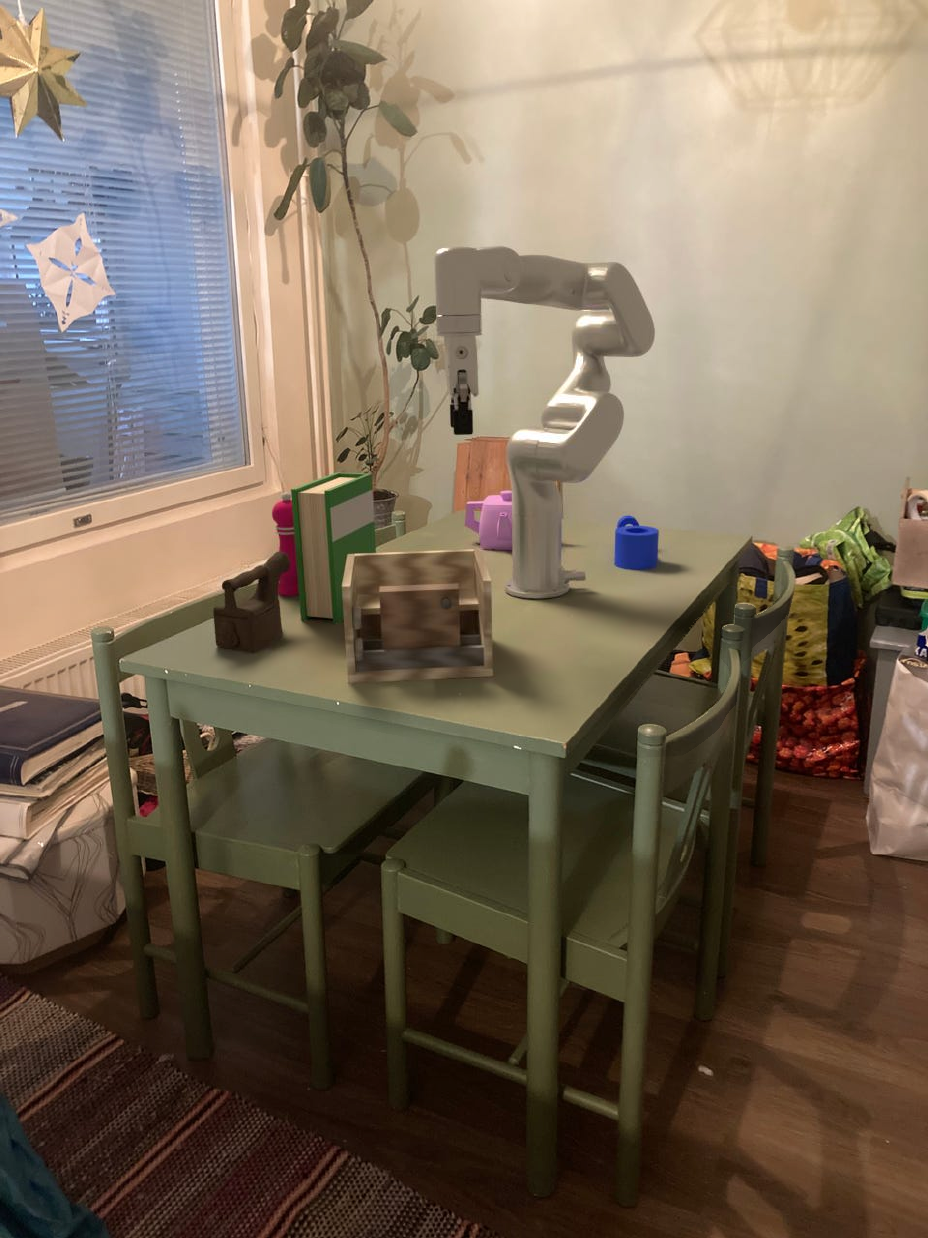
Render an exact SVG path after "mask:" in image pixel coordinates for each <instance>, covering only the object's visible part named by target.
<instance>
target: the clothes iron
mask: <svg viewBox="0 0 928 1238" xmlns="http://www.w3.org/2000/svg"><path fill="white" fill-rule="evenodd" d="M289 568H290V560H289V557H288V556H287V555H286V554H285V553H284V552H279V551H276V552H275V553H274V554H273V555H272V556H271V557H269V558H268V559H267V560H266V561H265V562H264V564H263V565H262V564H261V565H260V564H258V565H256V566H255V567H254V568H252V569H250V570H246V571H244V572H242V573H239V574H238V575H236V576H235V577H233V578H230V579H225V580H224V581H222V583H221V589H222V590H224V606H221V605H219V606H215V607H213V612H212V613H213V614H212V615H213V624H214V625H213V627H214V635H215V636H214V638H215V644H216V646H217V647H218V648H224V649H228V650H229V649H231V650H235V649H236V650H237V651H242V652H248V651H249V653H257V652H260V651H261V650H263V649H265V648H267V647H268V646H271V645H272V644H273V643H275V642H276V641H277V640H279V638H280V637H281V636H282V634H283V626H282V617H281V605H280V599H279V593H278V585H279V582H280V581H279V580H280V576H281V574H282V573H285V572H287V571H288V570H289ZM255 581H257V585H256V589H255V592H254V593H253V595H252V596H251V597H250V598H247V599H245V600H241V601H237V602H236V598H235V597H236V596H235V592H236V591H237V590H238V589H243V588H246V587H248V586H250V585H252V584H253V583H255Z"/></svg>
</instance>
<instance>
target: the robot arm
mask: <svg viewBox="0 0 928 1238" xmlns="http://www.w3.org/2000/svg"><path fill="white" fill-rule="evenodd" d="M434 284H435V285H434V286H435V288H434V289H435V291H434V292H435V317H436V318H435V319H436V321H435V322H436V336H437V337H443V350H444V351H443V352H444V369H445V370H444V371H445V372H444V373H445V380H446V381H445V382H446V387H447V388H446V389H447V394H448V395H449V396H450V404H449V417H450V418H449V420H450V421H449V423H450V424H449V425H450V427H451V428H452V429H453V435H455V436H461V435H462V436H465V435H467V436H468V435H469V436H471V435H473V433H474V417H473V416H474V415H473V414H474V410H473V409H472V398H471V397H472V396H471V395H473V397H474V398H477V397H478V396H479V394H480V393H479V390H480V389H479V371H478V369H479V368H478V366H479V365H478V348H477V346H478V344H477V339H476V337H477V336H482V335H483V334H482V332H483V330H482V329H483V327H482V322H483V321H482V320H483V318H482V299H485V300H494V301H495V300H497V301H505V302H511V303H518V304H524V305H536V306H541V307H551V308H557V309H561V310H562V309H563V310H567V311H568V310H569V311H575V312H576V311H578V312H583V311H584V312H587V311H589V312H587V313H585V314H583V315H581V316H579V318H578V319H577V320H576V321H575V323H574V325H573V326H572V327H573V328H572V332H571V345H572V369H571V371H570V373H569V374H568V375H567V377H566V378H565V379H564V381H563V382H562V383H561V384H560V386H559V387H558V389H557V390H556V391H555V393H554V394H553V395H552V396H551V397H550V399H549V401H548V402H547V403H546V405H545V406H544V408H543V410H542V413H541V416H540V417H541V418H540V423H541V426H527V427H522V428H520V429H518V430H516V431H515V432H514V433H513V434H512V435H510V438H509V439H508V442H507V444H506V448H505V449H506V450H505V451H506V452H505V457H506V464H507V468H508V475H509V479H510V487H511V491H512V550H511V551H512V579H509V580H507V581H505V583H504V591H505V592H506V593H507V594H509V595H510V596H514V597H517V598H522V599H523V598H525V599H550V598H556V597H559V596H562V595H566V593H568V592H569V590H570V581H573V582H574V581H575V582H581V581H582V582H583V581H586V571H585V570H577V569H576V568H574V569H565V568H564V567H563V565H562V535H563V534H562V533H563V531H562V529H563V527H562V524H563V523H562V521H563V519H562V518H563V517H562V514H563V513H562V512H563V503H562V502H563V501H562V500H563V499H562V496H561V492H560V490H559V489H560V488H559V487H558V485H557V482H558V483H559V482H560V483H566V484H579V483H582V482H583V481H585V480H587V479H588V478H589V477H590V476H591V475H592V474H593V473H594V472H595V470H596V469H597V466H599V465H600V463H601V461H603V459H604V457H605V456H606V455H607V453H608V452H609V451H610V450H611V448H612V447H613V445H615V442H616V441H617V440H618V437H619V435H620V434H621V431H622V428H623V426H624V425H623V424H624V421H625V420H624V419H625V411H624V406H623V403H622V402H621V400H620V399H619V398H618V396H616V395H615V394H613V393H612V392H610V391H611V386H612V385H611V383H612V382H611V378H610V374H609V371H608V369H607V367H606V362H605V357H612V358H614V357H615V358H616V357H617V358H619V357H620V358H622V357H623V358H637V357H641V356H643V355H645V354H647V353H648V352H649V351H650V350H651V348H652V346H653V344H654V341H655V336H656V335H655V333H656V330H655V324H654V321H653V317H652V314H651V313H650V310H649V308H648V306H647V304H646V302H645V299H644V297H643V295H642V293H641V290H640V288H639V286H638V284H637V283H636V281H635V278H634V277H633V274H631V273H630V271H629V269H627V268H626V267H625V266H624V265H623V264H622V263H619V262H617V261H616V262H615V261H612V262H611V261H610V262H593V263H592V262H589V263H587V262H578V261H576V260H575V261H573V260H569V259H564V258H559V257H555V256H551V255H546V254H545V255H544V254H523V255H519V253H518V252H517V251H515V250H514V249H513V248H510V247H507V246H501V245H500V246H499V245H496V246H480V247H471V246H452V247H451V246H450V247H442V248H440V249H438V250H436V252H435V255H434ZM590 311H591V312H590Z"/></svg>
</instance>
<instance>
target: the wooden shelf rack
mask: <svg viewBox="0 0 928 1238" xmlns="http://www.w3.org/2000/svg"><path fill="white" fill-rule="evenodd" d="M453 583H458V587H459V616H460V646H454V647H431V648H409V649H386V650H382V635H381V616H380V597H379V588H380V586H403V585H428V584H453ZM492 591H493V590H492V579H491V576H490V572H489V570H488V567H487V564H486V561H485V558H484V555H483V552H482V548H474V549H473V548H468V549H449V550H446V549H445V550H443V549H442V550H419V551H418V550H417V551H395V552H390V551H389V552H376V553H363V554H348V555H347V561H346V566H345V572H344V577H343V583H342V597H343V612H344V620H343V625H344V641H345V642H344V643H345V655H346V656H345V657H346V658H345V659H346V670H347V671H346V672H347V683H348V684H353V683H354V684H355V683H356V684H357V683H358V684H359V683H376V682H395V681H398V682H399V681H417V680H418V681H420V680H421V681H422V680H438V679H439V680H441V679H442V680H443V679H444V680H445V679H462V678H464V679H465V678H483V677H486V678H487V677H494V674H493V672H494V671H493V668H494V667H493V664H494V663H493V662H494V661H493V610H492V609H493V607H492V605H493V604H492V603H493V602H492V600H493V598H492Z"/></svg>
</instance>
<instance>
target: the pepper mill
mask: <svg viewBox="0 0 928 1238" xmlns="http://www.w3.org/2000/svg"><path fill="white" fill-rule="evenodd" d="M281 499H282V500H280V501H278V502H276V503H275V504H274V505H273V507H272V510H271V517H272V519H273V521H274V522H275V523H276V524H277V525H275V529H276V530H275V531H276V534H278V537H279V538H278V539H279V548H278V552H284V553H285V554H286V555H287V556H288V557H289V560H290V568H289V570H288V571H287V572H285V573H282V574H281V576H280V580H279V585H278V595H281V596H287V597H291V596H293V597H294V596H299V586H298V573H297V561H296V548H295V535H294V522H293V510H292V497H291V494H290V492H287V491H285V492H283V493H282V494H281Z"/></svg>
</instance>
